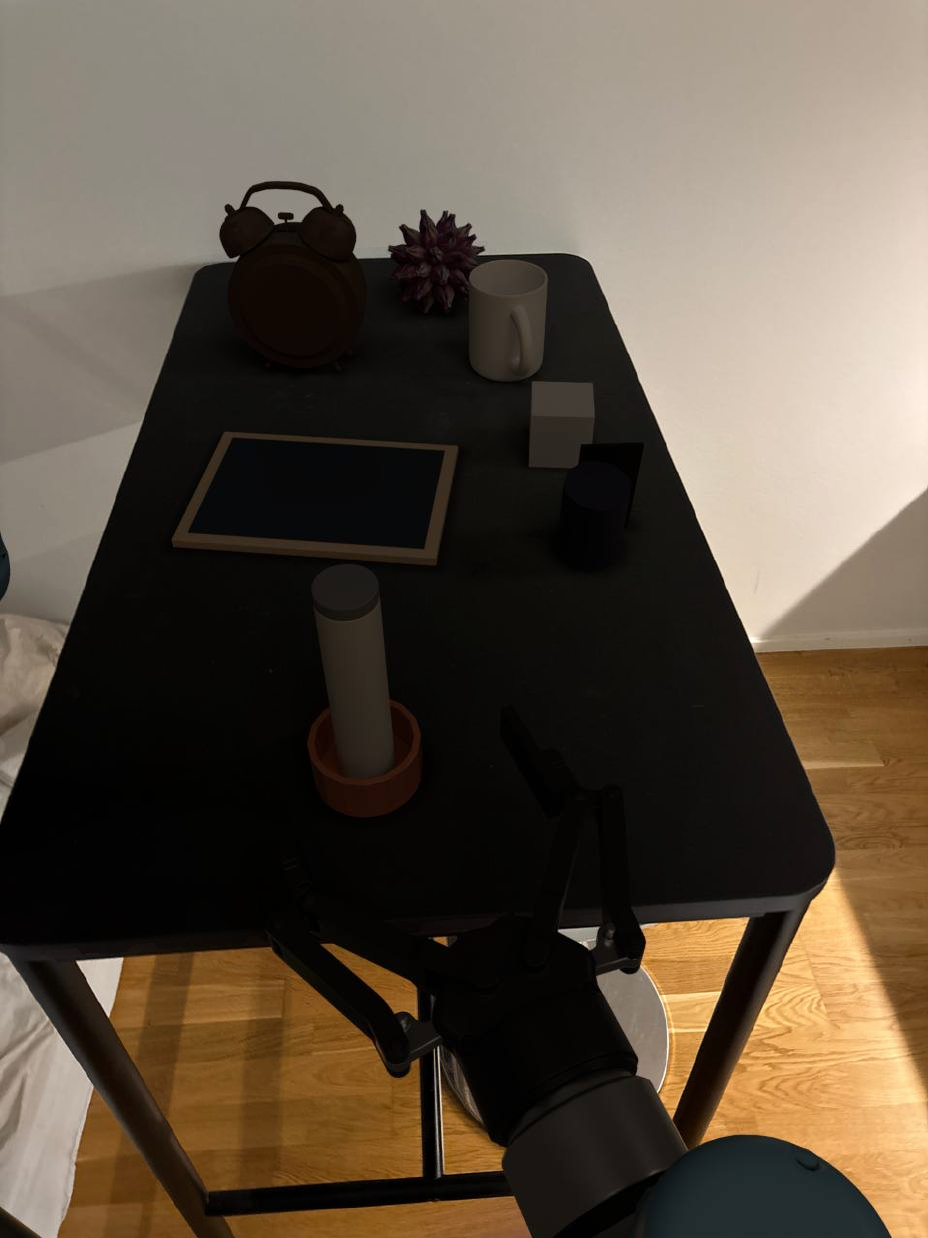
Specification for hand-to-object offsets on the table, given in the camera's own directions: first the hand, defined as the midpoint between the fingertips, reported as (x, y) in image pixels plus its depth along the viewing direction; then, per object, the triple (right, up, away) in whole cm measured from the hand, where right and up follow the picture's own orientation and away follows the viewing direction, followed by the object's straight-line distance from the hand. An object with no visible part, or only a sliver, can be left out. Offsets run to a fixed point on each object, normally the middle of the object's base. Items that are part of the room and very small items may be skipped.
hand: (400, 757), depth 57 cm
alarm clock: (-14, +37, +54) cm, 67 cm away
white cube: (+13, +25, +42) cm, 50 cm away
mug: (+9, +35, +52) cm, 63 cm away
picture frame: (-10, +20, +36) cm, 42 cm away
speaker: (+16, +14, +31) cm, 37 cm away
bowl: (-3, -3, +14) cm, 14 cm away
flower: (+1, +46, +62) cm, 77 cm away
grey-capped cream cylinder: (-3, -3, +13) cm, 14 cm away
